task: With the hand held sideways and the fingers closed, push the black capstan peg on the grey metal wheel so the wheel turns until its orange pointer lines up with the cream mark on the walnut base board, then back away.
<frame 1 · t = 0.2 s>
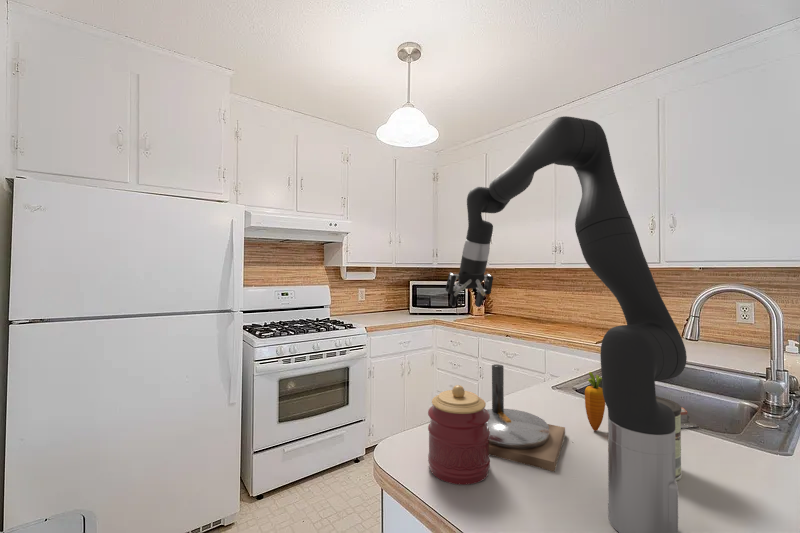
hand: (465, 306, 113), 31 cm above the counter, tool tilted 20°, fingers open, 8 cm apart
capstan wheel: (509, 402, 90), point 9 cm above the counter, hinge at -45.0°
coffee can: (651, 469, 78), on the counter
packaged product: (651, 424, 101), on the counter
base board: (509, 440, 91), on the counter
carrot: (595, 431, 95), on the counter
canister: (458, 469, 78), on the counter
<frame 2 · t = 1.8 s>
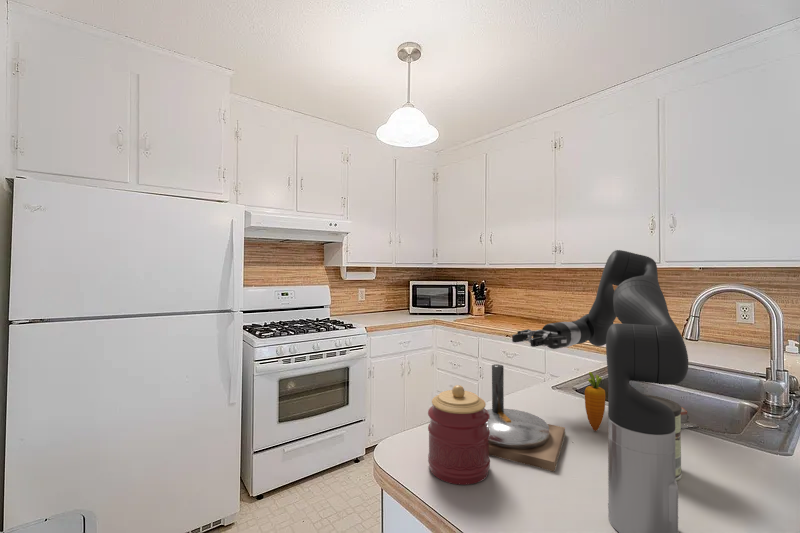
hand: (522, 340, 103), 22 cm above the counter, tool horizontal, fingers open, 6 cm apart
nothing on the counter moved.
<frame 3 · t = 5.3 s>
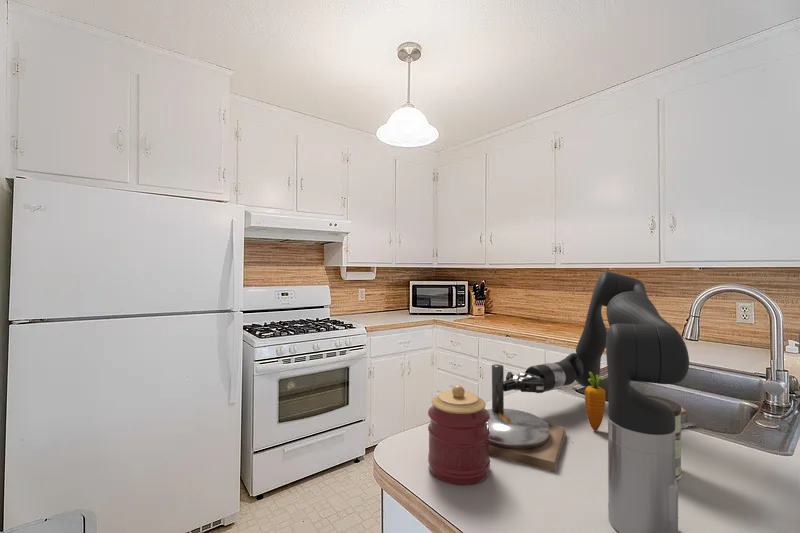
hand: (502, 387, 99), 10 cm above the counter, tool horizontal, fingers closed
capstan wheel: (509, 402, 90), point 9 cm above the counter, hinge at -45.0°, touching gripper
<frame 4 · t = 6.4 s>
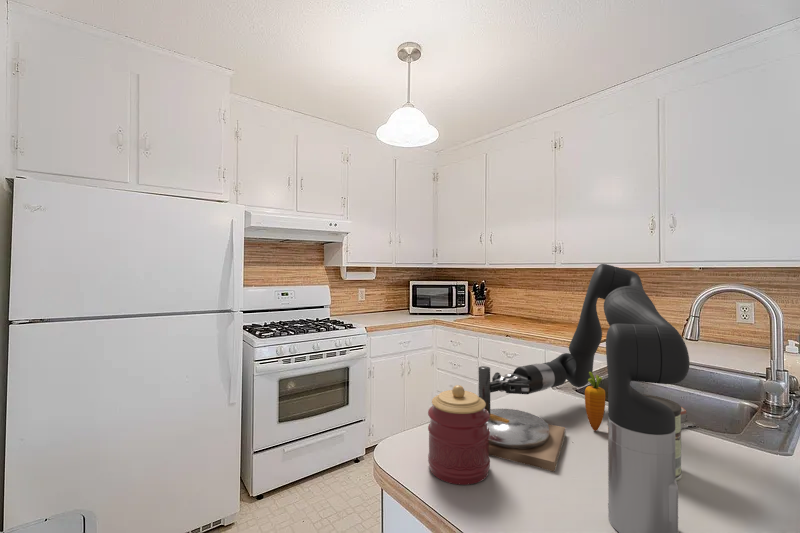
hand: (486, 388, 98), 10 cm above the counter, tool horizontal, fingers closed
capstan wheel: (509, 402, 90), point 9 cm above the counter, hinge at -11.3°, touching gripper
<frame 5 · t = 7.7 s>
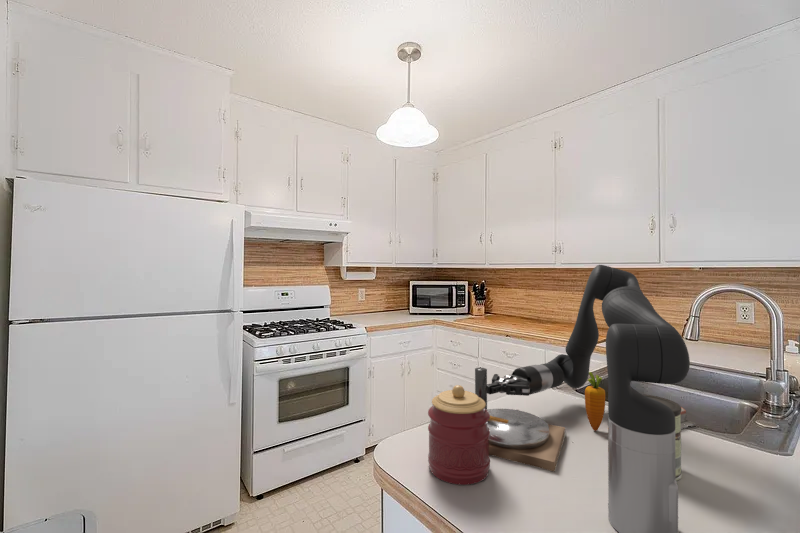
hand: (487, 389, 96), 11 cm above the counter, tool horizontal, fingers closed
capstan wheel: (509, 402, 90), point 9 cm above the counter, hinge at 2.1°
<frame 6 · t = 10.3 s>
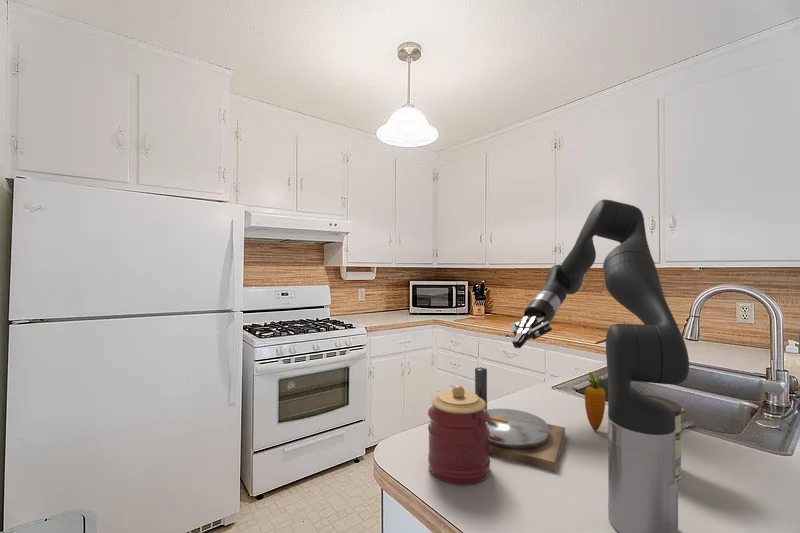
hand: (515, 345, 99), 22 cm above the counter, tool tilted 60°, fingers closed
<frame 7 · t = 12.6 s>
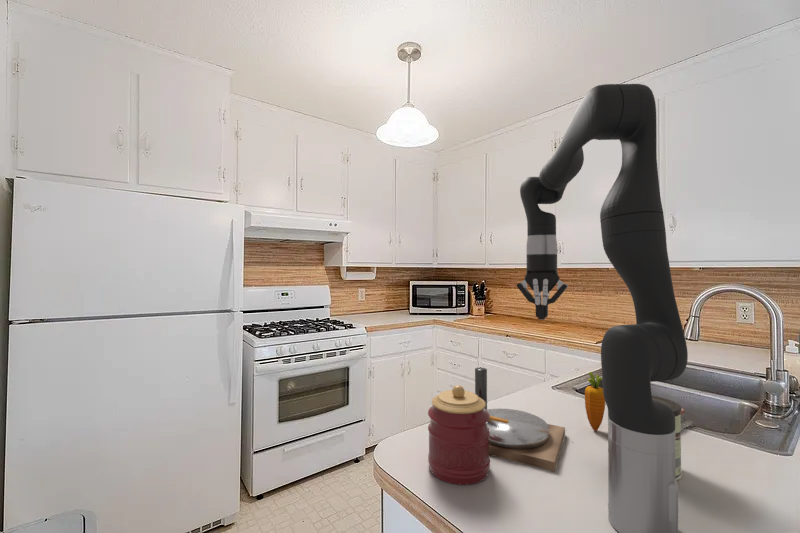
hand: (541, 319, 96), 29 cm above the counter, tool pointing down, fingers closed
at the end: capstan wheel at +2° (first picture: -45°) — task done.
